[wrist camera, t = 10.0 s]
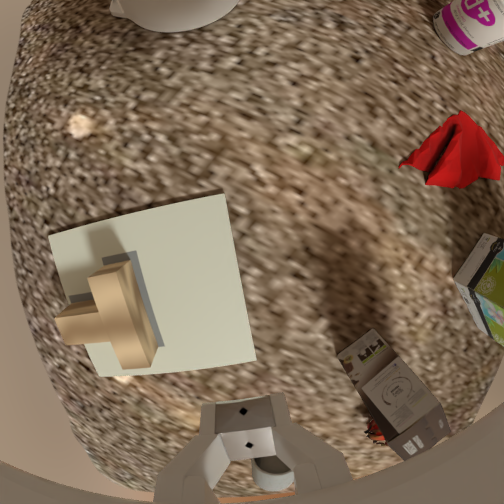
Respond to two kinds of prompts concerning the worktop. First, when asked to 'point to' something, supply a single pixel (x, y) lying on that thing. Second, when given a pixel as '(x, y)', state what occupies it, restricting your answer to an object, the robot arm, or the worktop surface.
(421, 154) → the cloth
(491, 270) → the tea box
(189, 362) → the sage board
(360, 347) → the coffee box
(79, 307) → the maple T block
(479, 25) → the supplement can
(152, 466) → the worktop surface
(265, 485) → the ceramic mug
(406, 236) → the worktop surface
